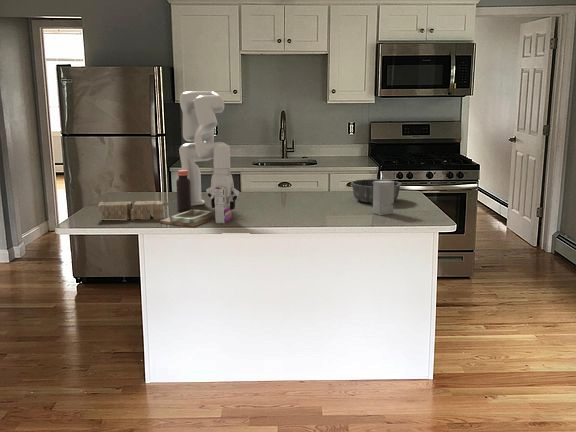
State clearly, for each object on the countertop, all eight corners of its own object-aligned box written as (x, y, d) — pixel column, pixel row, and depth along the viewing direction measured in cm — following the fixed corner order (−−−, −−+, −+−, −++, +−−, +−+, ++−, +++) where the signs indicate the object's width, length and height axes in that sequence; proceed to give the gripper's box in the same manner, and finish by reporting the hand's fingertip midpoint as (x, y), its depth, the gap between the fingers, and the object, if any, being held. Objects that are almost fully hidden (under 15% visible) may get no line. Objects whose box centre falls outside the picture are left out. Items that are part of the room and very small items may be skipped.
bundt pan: (370, 194, 352) (371, 176, 350) (410, 200, 334) (411, 182, 331) (340, 201, 334) (340, 182, 331) (380, 208, 315) (381, 188, 313)
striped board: (159, 223, 284) (159, 216, 283) (185, 214, 302) (184, 208, 301) (193, 227, 277) (192, 219, 276) (217, 217, 294) (216, 211, 293)
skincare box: (380, 215, 298) (381, 182, 294) (371, 212, 304) (372, 180, 300) (394, 213, 301) (395, 181, 298) (385, 211, 308) (386, 179, 304)
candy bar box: (222, 218, 294) (221, 183, 290) (232, 218, 293) (231, 184, 289) (214, 223, 283) (213, 187, 280) (225, 223, 282) (224, 188, 279)
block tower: (163, 217, 300) (101, 218, 296) (163, 200, 298) (100, 200, 294) (162, 221, 293) (98, 221, 289) (162, 203, 291) (97, 203, 287)
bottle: (185, 212, 307) (183, 172, 302) (174, 210, 310) (172, 170, 306) (194, 209, 312) (192, 170, 308) (183, 208, 316) (182, 169, 312)
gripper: (201, 171, 283) (202, 208, 287) (234, 173, 276) (235, 211, 280) (210, 169, 290) (211, 205, 294) (242, 171, 283) (243, 208, 287)
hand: (223, 208), depth 287 cm, fingers open, 9 cm apart
